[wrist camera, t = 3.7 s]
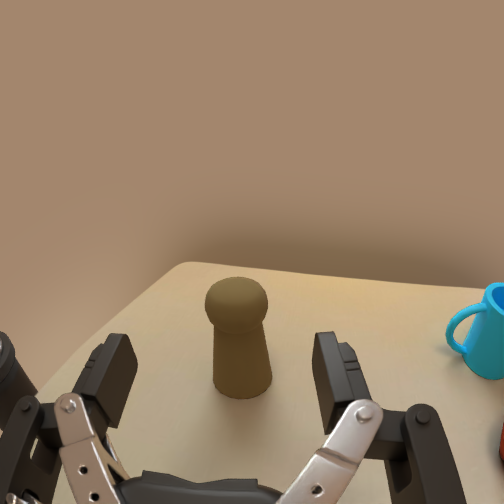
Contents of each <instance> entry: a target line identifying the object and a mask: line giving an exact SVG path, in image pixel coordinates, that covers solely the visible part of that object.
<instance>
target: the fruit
mask: <svg viewBox="0 0 504 504" xmlns="http://www.w3.org/2000/svg"><path fill="white" fill-rule="evenodd" d="M499 452H500V456H501V458H502V459H503V460H504V424H503V429H502V434H501V442H500V449H499Z"/></svg>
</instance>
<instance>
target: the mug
mask: <svg viewBox="0 0 504 504" xmlns="http://www.w3.org/2000/svg"><path fill="white" fill-rule="evenodd" d="M475 313H477V314H476V316H475V319H474V321H473V323H472V326H471V328H470V330H469V332H468V335H467V337H466V339H465V341H464V343H463V346H462V345H460V344H458V343H457V342H456V341H455V340H454V338H453V333H454V330H455V328H456V327H457V325H458V324H459V323H460V322H461V321H462V320H464V319H465V318H467V317H469V316H470V315H472V314H475ZM446 339H447V343H448V344H449V346H450V347H451V348H452V349H453V350H455V351H457V352H459V353H461V354H462V356H463V358H464V360H465V363H466V364H467V365H468V366H469V368H470V369H471V370H472V371H474V372H475V373H476V374H478V375H479V376H482V377H484V378H486V379H492V380H497V379H502V378H504V283H493V284H490V285H489V286H488V287H487V288H486V290H485V293H484V296H483V299H482V301H481V303H478V304H474V305H471V306H468V307H466V308H465V309H463V310H461V311H459V312H458V313H457V314H456V315H455V316H454V317H453V318H452V319H451V321H450V322H449V324H448V325H447V329H446Z"/></svg>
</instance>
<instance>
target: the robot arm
mask: <svg viewBox="0 0 504 504" xmlns="http://www.w3.org/2000/svg"><path fill="white" fill-rule="evenodd" d="M2 352H3V342H2V340H1V338H0V357H1V355H2ZM137 368H138V362H137V358H136V355H135V353H134V350H133V348H132V345H131V342H130V340H129V337H128V335H126V334H116V333H111V334H109V335H108V337H107V339H106V341H105V343H104V344H100V345H99V346H98V347H96V348H95V349H94V350H93V351H92V353H91V355H90V357H89V359H88V361H87V363H86V365H85V368H83V370H82V372H81V374H80V376H79V378H78V380H77V382H76V384H75V386H74V388H73V390H72V392H71V393H66V394H63V395H61V396H60V397H59V398H58V399H57V400H56V402H55V403H43V404H40V402H39V401H38V400H37V398H36V397H34V396H31V395H28V396H24V397H22V398H21V399H19V400H18V402H17V403H16V405H15V407H14V409H13V411H12V413H11V415H10V417H9V420H8V422H7V424H6V426H5V428H4V431H3V433H2V435H1V438H0V504H52V500H53V496H54V492H55V488H56V484H57V480H58V477H59V473H60V470H61V466H62V463H63V467H64V470H65V473H66V476H67V479H68V482H69V484H70V487H71V490H72V493H73V495H74V498H75V500H76V503H77V504H336V503H337V501H338V500H339V498H340V497H341V495H342V494H343V492H344V491H345V489H346V487H347V486H348V484H349V483H350V481H351V479H352V478H353V476H354V474H355V472H356V471H357V469H358V467H359V465H360V463H361V461H362V459H363V458H366V459H379V460H384V464H385V469H386V474H387V479H388V485H389V490H390V496H391V502H392V504H467V503H466V499H465V495H464V492H463V488H462V484H461V481H460V477H459V474H458V471H457V467H456V464H455V461H454V458H453V455H452V452H451V449H450V446H449V443H448V440H447V437H446V434H445V432H444V429H443V426H442V423H441V421H440V418H439V415H438V413H437V412H436V410H435V409H434V408H433V407H431V406H429V405H427V404H416V405H413V406H411V407H410V408H409V409H408V410H407V412H402V411H390V410H385V409H383V408H381V407H380V406H379V405H378V404H377V403H376V402H374V401H373V400H372V398H371V396H370V393H369V390H368V387H367V384H366V381H365V378H364V376H363V373H362V370H361V367H360V364H359V362H358V359H357V356H356V354H355V351H354V350H353V349H352V348H351V346H350V345H349V344H348V343H347V342H345V343H338V342H337V339H336V336H335V333H334V332H333V331H332V332H320V333H316V334H315V339H314V348H313V356H312V370H313V376H314V381H315V386H316V391H317V396H318V401H319V406H320V411H321V417H322V422H323V427H324V433H325V435H328V434H330V435H329V437H328V438H327V440H326V441H325V443H324V444H323V446H322V447H321V448H320V449H318V450H317V451H316V452H315V453H314V455H313V456H312V457H311V459H310V460H309V461H308V463H307V464H306V465H305V467H304V468H303V469H302V471H301V472H300V473H299V475H298V476H297V477H296V479H295V480H294V481H293V482H292V484H291V485H290V486H289V487H288V489H287V490H286V491H285V492H284V493H281V492H279V491H278V490H275V489H273V488H270V487H267V486H263V485H258V480H257V479H223V480H218V481H212V482H205V483H193V482H190V481H187V480H184V479H181V478H178V477H176V476H173V475H170V474H164V473H157V472H151V471H145V470H143V472H142V476H140V477H134V478H130V477H129V475H128V474H127V472H126V471H125V470H124V468H123V466H122V464H121V462H120V460H119V458H118V456H117V454H116V452H115V450H114V448H113V445H112V443H111V441H110V439H109V436H108V434H107V433H106V431H107V428H108V427H112V428H118V425H119V422H120V418H121V415H122V412H123V410H124V407H125V404H126V401H127V398H128V395H129V392H130V389H131V386H132V384H133V381H134V378H135V375H136V373H137ZM36 438H37V439H38V442H37V445H36V448H35V450H34V453H33V456H32V459H30V452H31V449H32V447H33V444H34V441H35V439H36Z"/></svg>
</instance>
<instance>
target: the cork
mask: <svg viewBox="0 0 504 504" xmlns="http://www.w3.org/2000/svg"><path fill="white" fill-rule="evenodd" d="M267 309H268V300H267V295H266V292H265V290H264V289H263V288H262V287H261V285H260V284H259V283H258V282H256V281H254V280H252V279H249V278H244V277H230V278H226V279H223V280H220V281H218V282H216V283H215V284H213V285H212V286H211V288H210V289H209V291H208V292H207V294H206V300H205V310H206V313H207V316H208V318H209V320H210V322H211V323H212V324H213V325H214V348H213V381H214V384H215V387H216V388H217V389H218V390H219V391H220V392H221V393H222V394H224V395H226V396H228V397H231V398H236V399H249V398H252V397H255V396H258V395H260V394H261V393H263V392H264V391H266V389H267V388H268V387H269V385H270V384H271V380H272V371H271V366H270V361H269V356H268V350H267V345H266V340H265V335H264V330H263V324H262V321H263V320H264V318H265V315H266V312H267Z"/></svg>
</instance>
